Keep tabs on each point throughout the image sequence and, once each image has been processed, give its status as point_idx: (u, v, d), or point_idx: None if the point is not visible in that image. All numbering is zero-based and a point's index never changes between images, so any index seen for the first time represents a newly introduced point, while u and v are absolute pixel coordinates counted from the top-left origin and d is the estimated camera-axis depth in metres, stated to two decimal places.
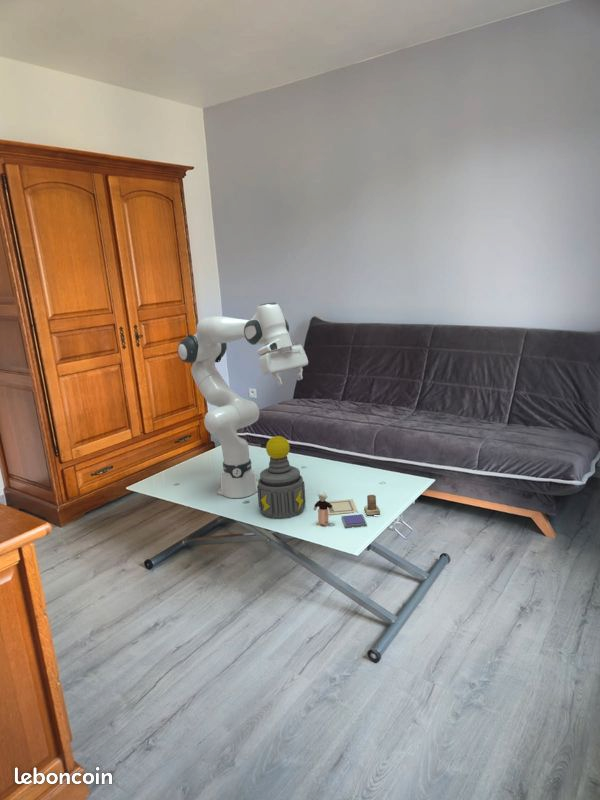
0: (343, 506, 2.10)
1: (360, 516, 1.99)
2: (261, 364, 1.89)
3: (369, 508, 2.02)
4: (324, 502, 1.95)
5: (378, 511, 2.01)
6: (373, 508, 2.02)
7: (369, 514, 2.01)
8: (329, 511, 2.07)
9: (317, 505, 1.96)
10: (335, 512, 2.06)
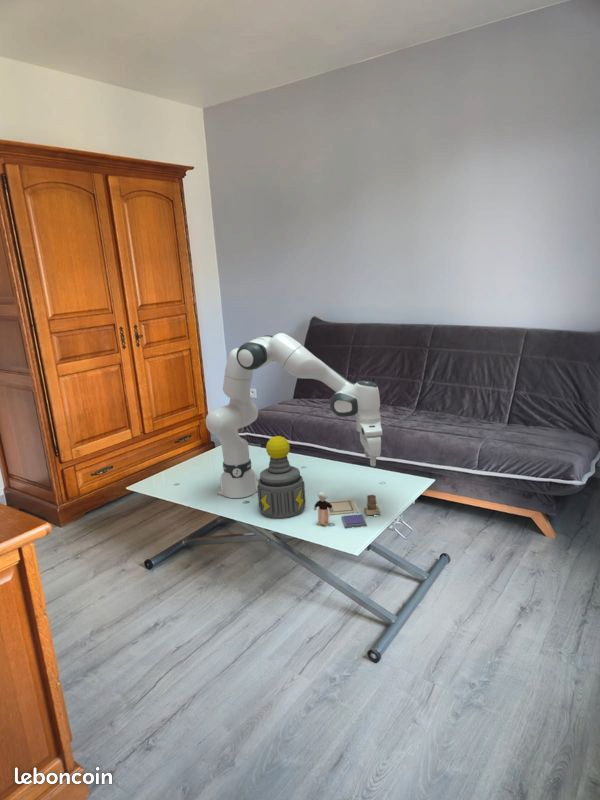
0: (343, 506, 2.10)
1: (360, 516, 1.99)
2: (371, 447, 1.87)
3: (369, 508, 2.02)
4: (324, 502, 1.95)
5: (378, 511, 2.01)
6: (373, 508, 2.02)
7: (369, 514, 2.01)
8: (329, 511, 2.07)
9: (317, 505, 1.96)
10: (335, 512, 2.06)
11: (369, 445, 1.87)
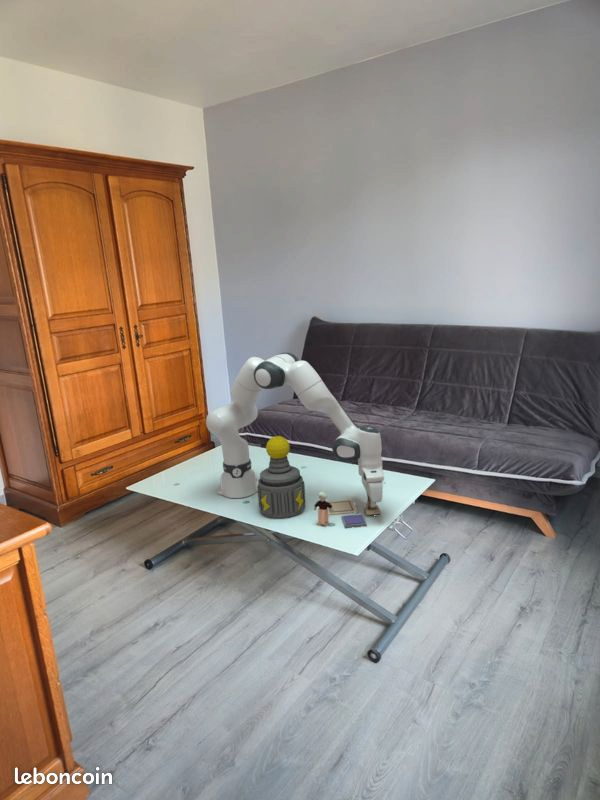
0: (343, 506, 2.10)
1: (360, 516, 1.99)
2: (373, 492, 1.91)
3: (369, 508, 2.02)
4: (324, 502, 1.95)
5: (378, 511, 2.01)
6: (373, 508, 2.02)
7: (369, 514, 2.01)
8: (329, 511, 2.07)
9: (317, 505, 1.96)
10: (335, 512, 2.06)
11: (371, 490, 1.91)
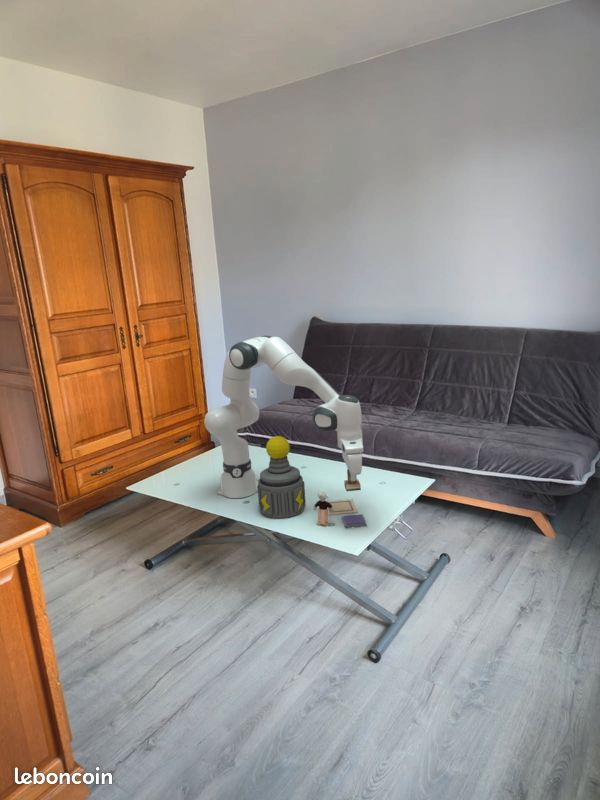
0: (343, 506, 2.10)
1: (360, 516, 1.99)
2: (352, 464, 1.82)
3: (349, 482, 1.93)
4: (324, 502, 1.95)
5: (358, 485, 1.92)
6: (353, 482, 1.92)
7: (349, 488, 1.92)
8: (329, 511, 2.07)
9: (317, 505, 1.96)
10: (335, 512, 2.06)
11: (350, 462, 1.82)
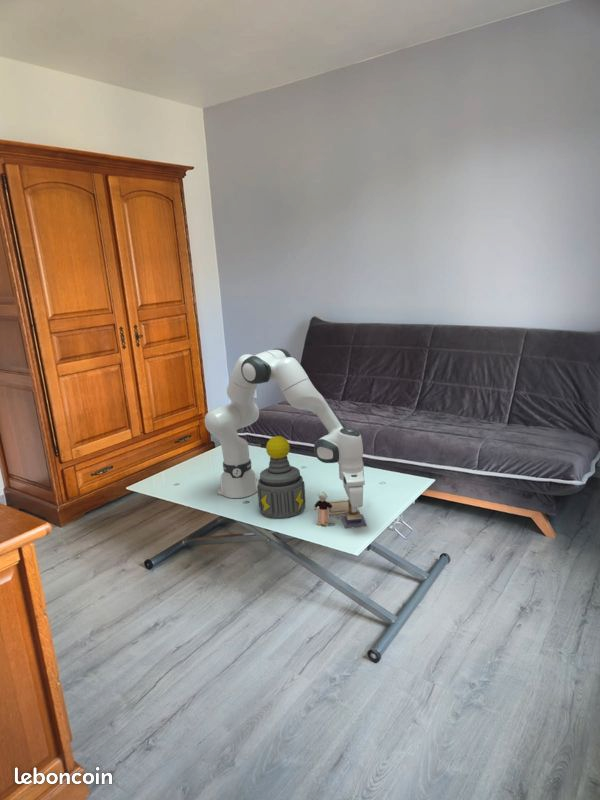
0: (343, 506, 2.10)
1: None
2: (353, 497, 1.85)
3: (350, 512, 1.96)
4: (324, 502, 1.95)
5: (359, 516, 1.95)
6: (354, 513, 1.95)
7: (350, 519, 1.95)
8: (329, 511, 2.07)
9: (317, 505, 1.96)
10: (335, 512, 2.06)
11: (351, 495, 1.85)
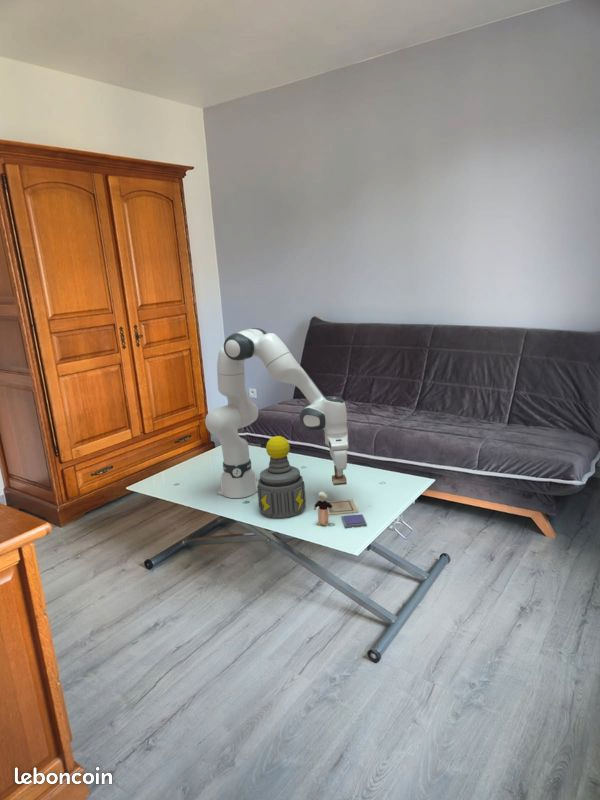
0: (343, 506, 2.10)
1: (360, 516, 1.99)
2: (338, 460, 1.96)
3: (336, 476, 2.07)
4: (324, 502, 1.95)
5: (344, 480, 2.06)
6: (340, 477, 2.06)
7: (336, 482, 2.06)
8: (329, 511, 2.07)
9: (317, 505, 1.96)
10: (335, 512, 2.06)
11: (335, 458, 1.96)
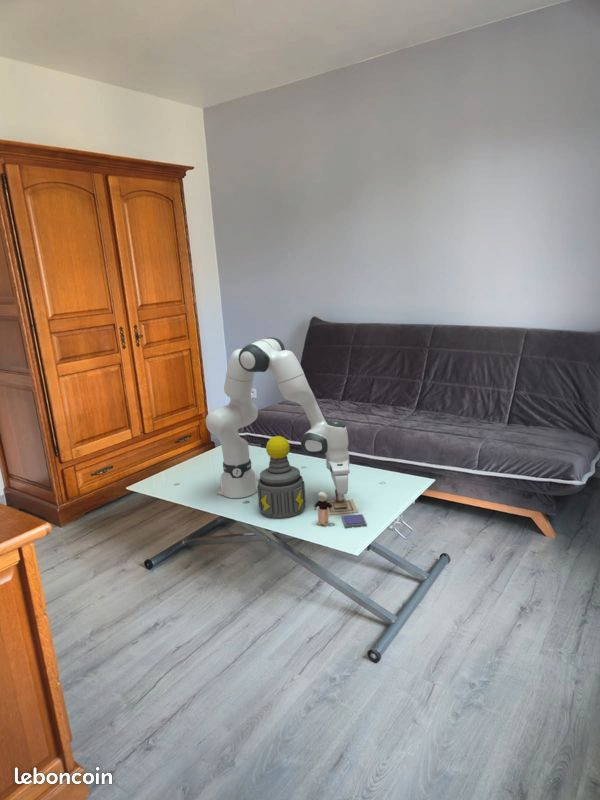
0: None
1: (360, 516, 1.99)
2: (339, 485, 1.98)
3: (336, 501, 2.09)
4: (324, 502, 1.95)
5: (345, 504, 2.08)
6: (341, 501, 2.09)
7: (337, 507, 2.08)
8: (329, 511, 2.07)
9: (317, 505, 1.96)
10: (335, 512, 2.06)
11: (337, 483, 1.98)
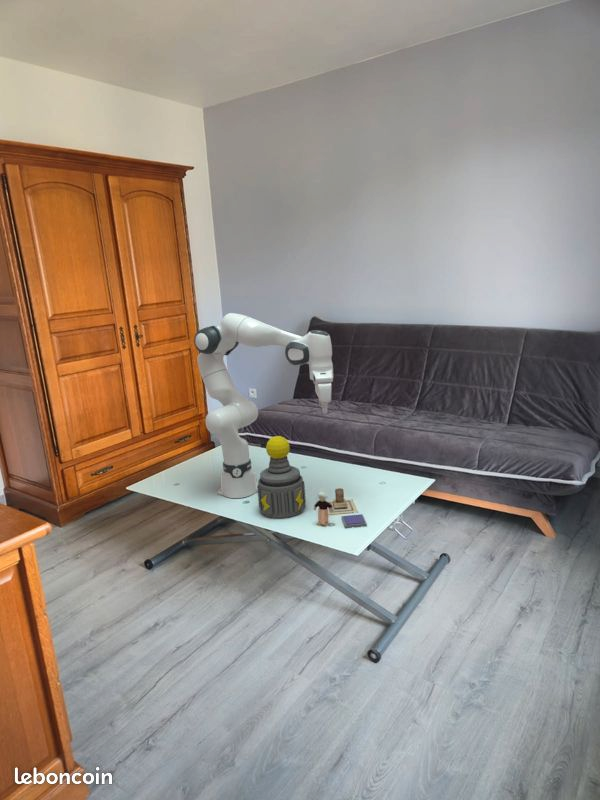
0: None
1: (360, 516, 1.99)
2: (322, 393, 1.93)
3: (336, 501, 2.09)
4: (324, 502, 1.95)
5: (345, 504, 2.08)
6: (341, 501, 2.09)
7: (337, 507, 2.08)
8: (329, 511, 2.07)
9: (317, 505, 1.96)
10: (335, 512, 2.06)
11: (320, 391, 1.93)
